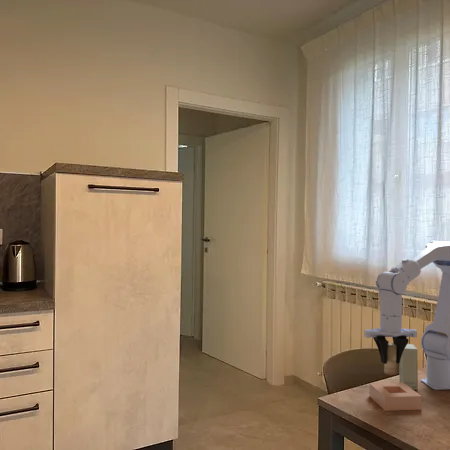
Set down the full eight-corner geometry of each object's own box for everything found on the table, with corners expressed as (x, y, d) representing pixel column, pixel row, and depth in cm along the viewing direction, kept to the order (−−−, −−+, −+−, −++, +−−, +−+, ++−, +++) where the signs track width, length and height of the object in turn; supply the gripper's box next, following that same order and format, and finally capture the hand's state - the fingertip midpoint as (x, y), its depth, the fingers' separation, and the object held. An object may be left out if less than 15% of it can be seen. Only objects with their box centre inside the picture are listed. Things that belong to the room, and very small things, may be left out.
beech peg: (393, 370, 128) (393, 343, 128) (398, 374, 125) (398, 346, 125) (382, 371, 128) (382, 343, 128) (387, 374, 125) (387, 346, 125)
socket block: (403, 395, 129) (403, 382, 129) (421, 409, 119) (421, 396, 119) (369, 396, 128) (369, 383, 128) (384, 410, 118) (385, 397, 118)
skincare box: (418, 390, 132) (418, 349, 132) (402, 389, 133) (402, 348, 133) (413, 383, 139) (413, 343, 139) (398, 381, 140) (398, 342, 139)
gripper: (371, 317, 122) (371, 367, 122) (422, 317, 123) (422, 366, 123) (361, 312, 129) (361, 359, 129) (410, 312, 130) (409, 358, 130)
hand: (390, 362), depth 127 cm, fingers closed on beech peg, 3 cm apart
